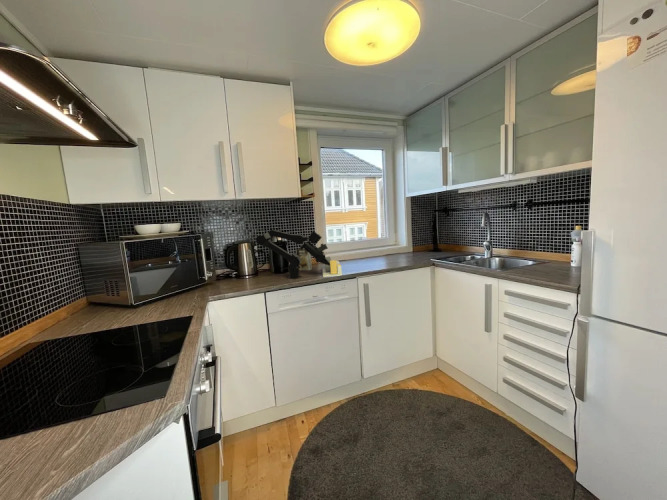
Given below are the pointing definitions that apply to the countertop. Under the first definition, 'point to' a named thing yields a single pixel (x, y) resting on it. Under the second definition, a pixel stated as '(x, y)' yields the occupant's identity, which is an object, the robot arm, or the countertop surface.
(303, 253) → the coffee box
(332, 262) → the ochre key
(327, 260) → the charcoal key middle
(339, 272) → the key console
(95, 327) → the countertop surface
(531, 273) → the countertop surface
